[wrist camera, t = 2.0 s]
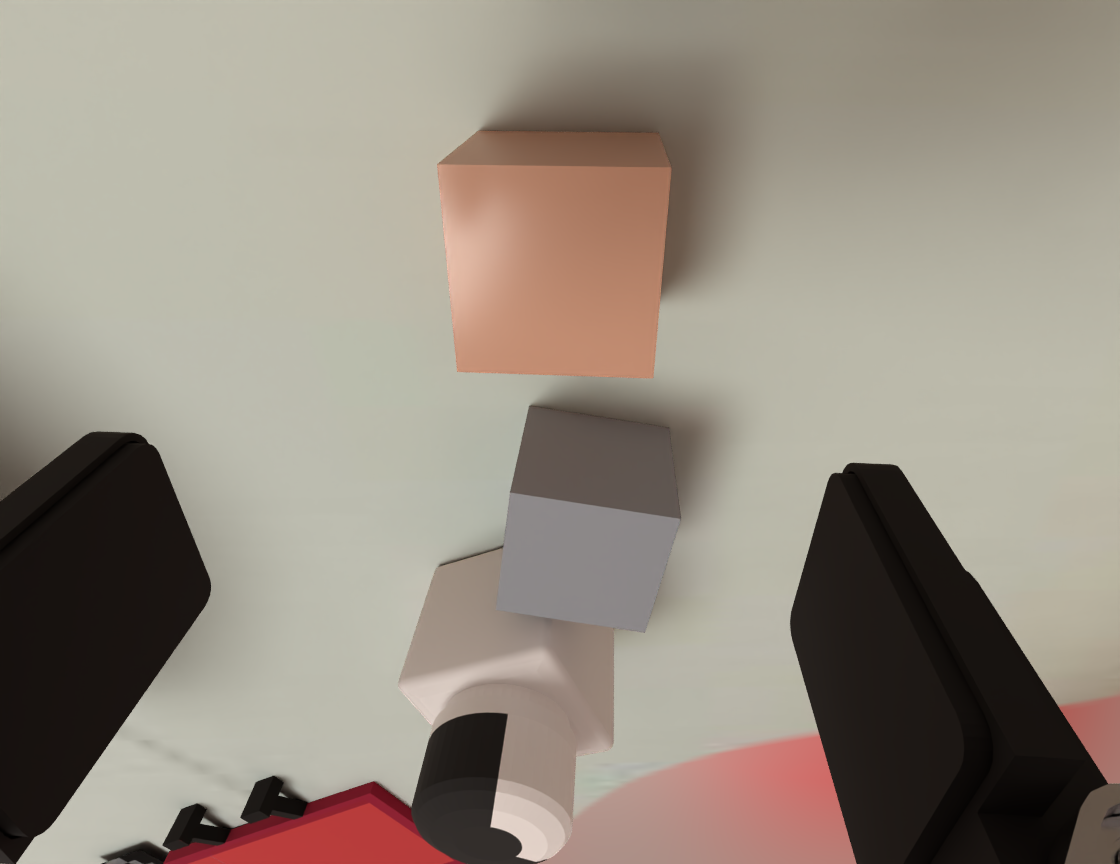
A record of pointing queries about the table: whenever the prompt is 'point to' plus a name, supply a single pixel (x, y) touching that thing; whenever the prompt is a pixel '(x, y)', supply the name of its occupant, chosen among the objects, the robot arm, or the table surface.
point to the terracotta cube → (556, 251)
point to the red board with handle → (301, 832)
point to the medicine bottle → (502, 717)
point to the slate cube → (589, 520)
